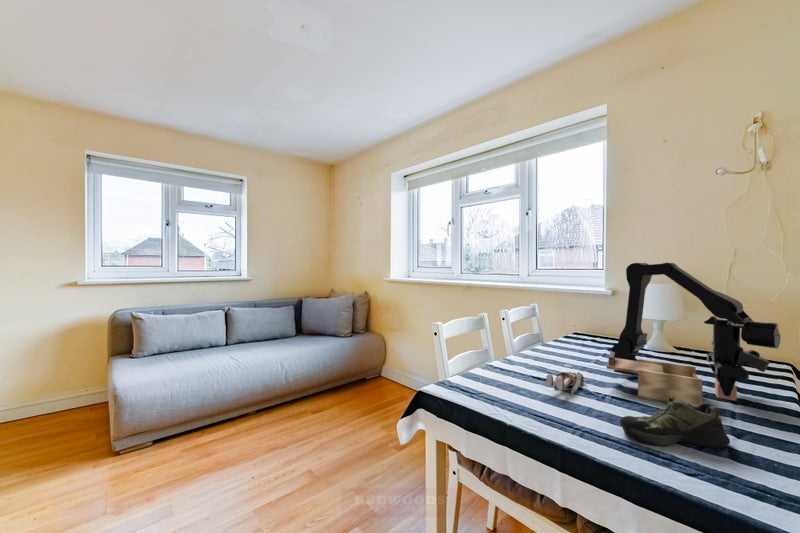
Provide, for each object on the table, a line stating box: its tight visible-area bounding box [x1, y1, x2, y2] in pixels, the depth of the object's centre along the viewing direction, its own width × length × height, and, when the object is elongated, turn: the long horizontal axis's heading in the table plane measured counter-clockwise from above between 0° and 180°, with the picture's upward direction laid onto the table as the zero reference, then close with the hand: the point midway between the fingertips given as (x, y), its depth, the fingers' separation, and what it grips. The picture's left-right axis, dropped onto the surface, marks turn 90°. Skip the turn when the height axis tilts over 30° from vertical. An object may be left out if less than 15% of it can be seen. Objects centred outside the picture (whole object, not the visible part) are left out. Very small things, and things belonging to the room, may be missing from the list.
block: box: [714, 379, 738, 402], centre depth 98 cm, size 4×4×4 cm
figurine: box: [545, 371, 585, 395], centre depth 104 cm, size 6×6×20 cm
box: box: [637, 358, 703, 407], centre depth 99 cm, size 14×14×8 cm
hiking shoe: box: [619, 397, 731, 449], centre depth 75 cm, size 8×21×9 cm, turn 85°
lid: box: [606, 351, 664, 375], centre depth 103 cm, size 14×12×3 cm
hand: (725, 393), depth 98 cm, fingers closed on block, 4 cm apart
